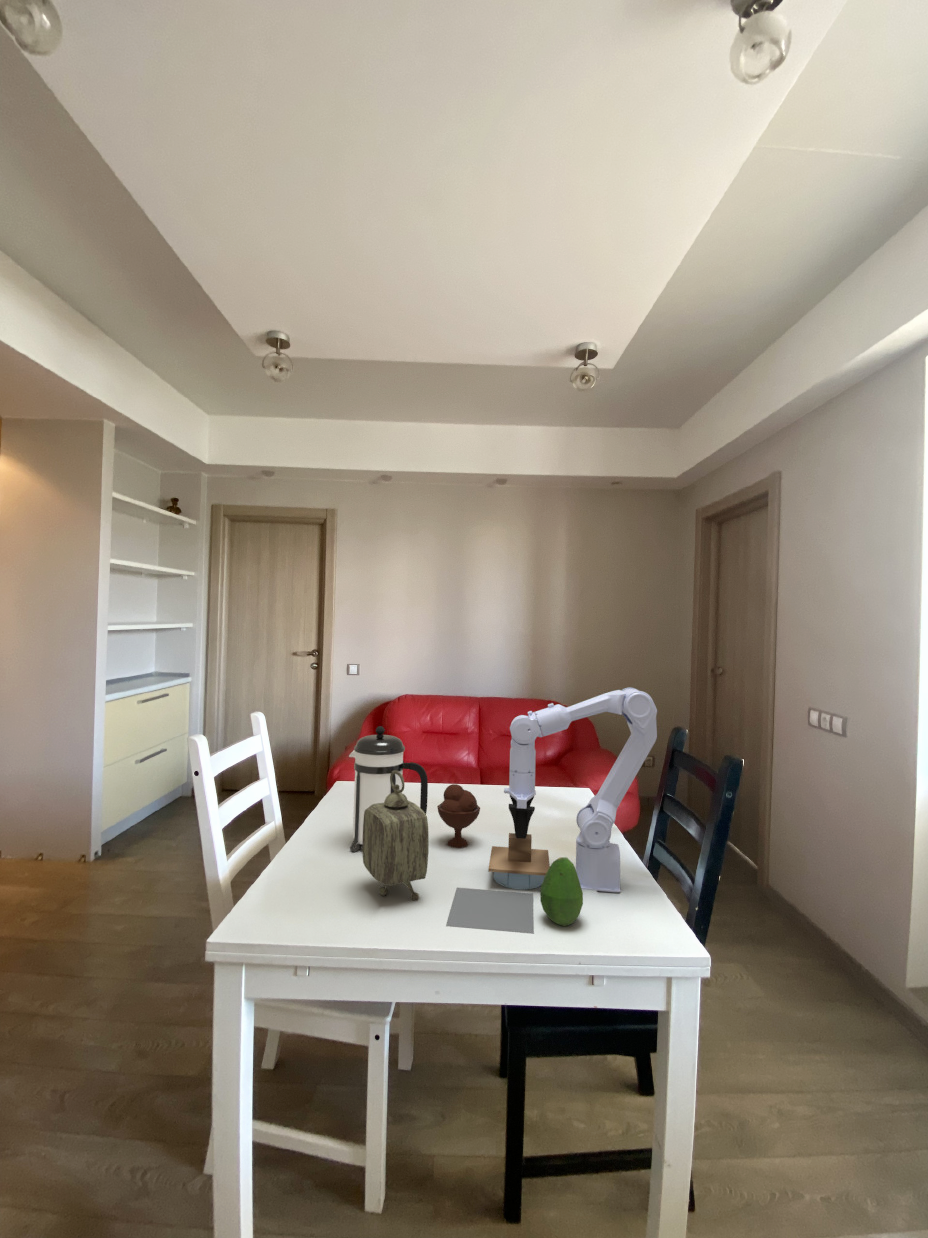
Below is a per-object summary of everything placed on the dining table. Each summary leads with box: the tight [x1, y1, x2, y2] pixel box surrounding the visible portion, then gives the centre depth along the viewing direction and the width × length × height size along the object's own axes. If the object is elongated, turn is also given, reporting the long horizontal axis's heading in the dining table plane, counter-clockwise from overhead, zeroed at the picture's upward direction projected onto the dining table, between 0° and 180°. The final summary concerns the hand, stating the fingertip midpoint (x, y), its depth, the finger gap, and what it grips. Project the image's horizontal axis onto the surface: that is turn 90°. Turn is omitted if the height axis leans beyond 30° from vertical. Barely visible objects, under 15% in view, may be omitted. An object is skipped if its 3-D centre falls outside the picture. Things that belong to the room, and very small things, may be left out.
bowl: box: [493, 872, 545, 891], centre depth 124 cm, size 11×11×4 cm
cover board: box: [487, 832, 551, 876], centre depth 124 cm, size 13×13×6 cm
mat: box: [445, 887, 535, 935], centre depth 110 cm, size 16×16×1 cm
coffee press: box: [348, 725, 429, 853], centre depth 143 cm, size 17×16×30 cm
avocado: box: [539, 857, 584, 927], centre depth 106 cm, size 8×8×12 cm
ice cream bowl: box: [437, 783, 481, 849], centre depth 145 cm, size 11×11×15 cm
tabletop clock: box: [361, 770, 430, 902], centre depth 116 cm, size 14×9×25 cm, turn 30°
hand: (521, 831), depth 125 cm, fingers open, 7 cm apart
